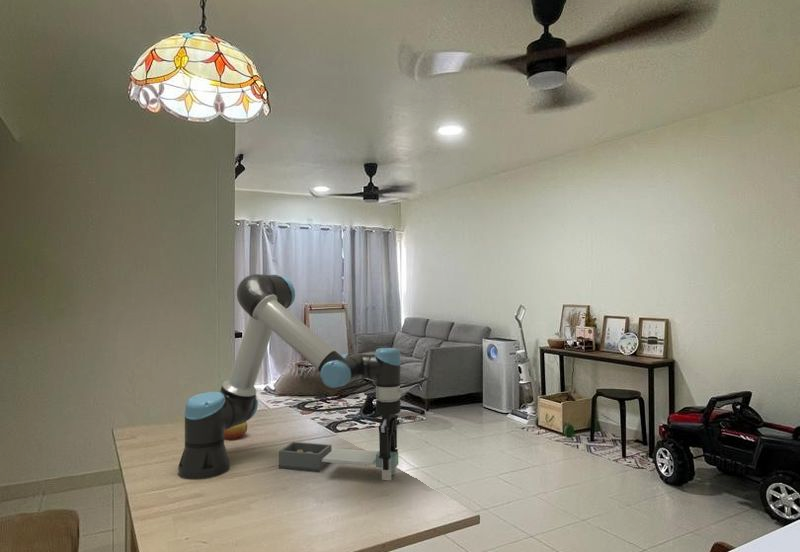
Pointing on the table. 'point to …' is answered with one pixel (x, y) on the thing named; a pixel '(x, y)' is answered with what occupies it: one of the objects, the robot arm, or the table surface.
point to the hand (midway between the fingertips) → (388, 476)
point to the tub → (304, 456)
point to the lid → (359, 457)
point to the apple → (236, 431)
